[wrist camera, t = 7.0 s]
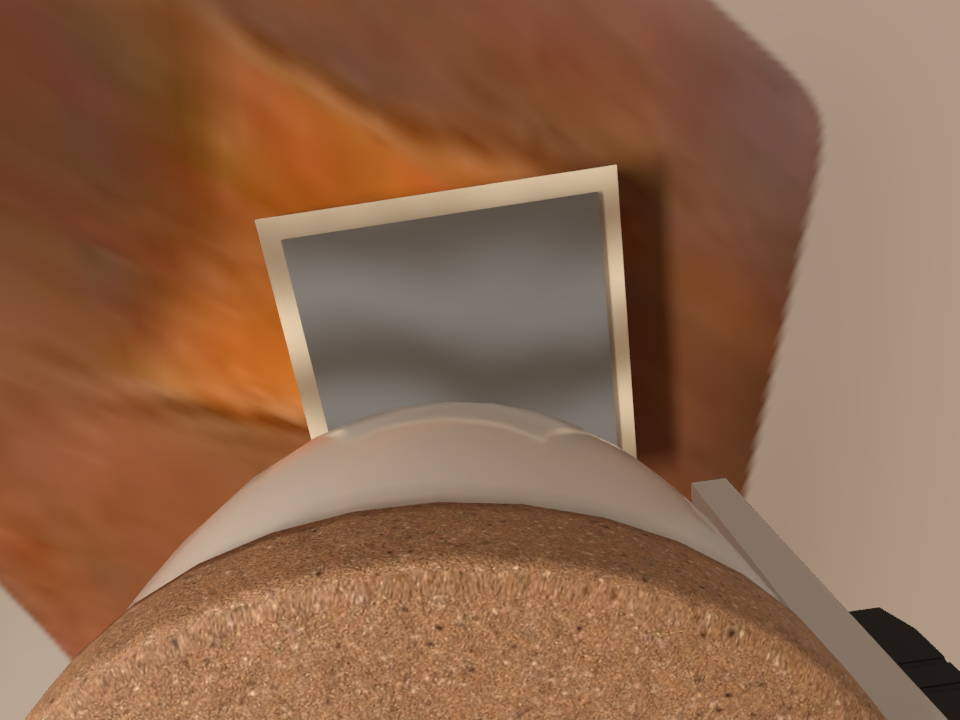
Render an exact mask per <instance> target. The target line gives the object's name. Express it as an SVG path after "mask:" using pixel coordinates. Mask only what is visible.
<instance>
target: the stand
mask: <svg viewBox="0 0 960 720" xmlns="http://www.w3.org/2000/svg"><path fill="white" fill-rule="evenodd" d="M255 223H256V227H257V231H258V235H259V239H260V243H261V247H262V250H263V254H264V258H265V262H266V266H267V270H268V274H269V277H270V281H271V285H272V289H273V293H274V297H275V301H276V305H277V308H278V312H279V316H280V320H281V324H282V328H283V332H284V335H285V339H286V343H287V347H288V351H289V355H290V359H291V362H292V366H293V370H294V374H295V378H296V382H297V386H298V389H299V393H300V397H301V401H302V405H303V409H304V413H305V416H306V420H307V424H308V428H309V432H310V436H311V440H312V439H314V438H315V437H317V436H320V435H322V434H324V433H326V432H329V431H331V430H333V429H335V428H338V427H340V426H342V425H345V424H347V423H349V422H351V421H354V420H356V419H359V418H363V417H366V416H370V415H374V414H378V413H381V412H385V411H389V410H393V409H396V408H400V407H407V406H416V405H425V404H433V403H442V402H472V403H493V404H499V405H504V406H510V407H515V408H521V409H526V410H532V411H537V412H540V413H543V414H546V415H549V416H552V417H555V418H558V419H561V420H564V421H566V422H569V423H572V424H575V425H578V426H580V427H582V428H584V429H586V430H588V431H590V432H592V433H593V434H595V435H597V436H599V437H601V438H603V439H605V440H607V441H608V442H610V443H612V444H614V445H616V446H618V447H619V448H621V449H622V450H624V451H625V452H627V453H628V454H630V455H631V456H633V457H634V458H636V459H637V455H636V440H635V425H634V411H633V396H632V381H631V367H630V352H629V337H628V322H627V308H626V293H625V278H624V264H623V249H622V234H621V220H620V205H619V190H618V175H617V165H611V166H605V167H598V168H591V169H585V170H578V171H572V172H565V173H559V174H552V175H546V176H539V177H532V178H526V179H519V180H513V181H506V182H500V183H493V184H487V185H480V186H473V187H467V188H460V189H454V190H447V191H441V192H434V193H428V194H421V195H414V196H408V197H401V198H395V199H388V200H382V201H375V202H369V203H362V204H355V205H349V206H342V207H336V208H329V209H323V210H316V211H310V212H303V213H296V214H290V215H283V216H277V217H270V218H264V219H257V220H255Z"/></svg>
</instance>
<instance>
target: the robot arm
mask: <svg viewBox="0 0 960 720" xmlns="http://www.w3.org/2000/svg"><path fill="white" fill-rule="evenodd" d="M691 489H692V504H693V505H694V506H695V507H696V508H697V509H698V510H699V511H701V512H702V513H703V514H704V515H705V516H706V517H707V518H708V519H709V520H710V521H711V522H712V523H713V525H714V526H715V527H716V528H717V529H718V530H719V531H720V532H721V533H722V534H723V536H724V537H725V538H726V539H727V540H728V541H729V542H730V543H731V544H732V546H733V547H734V548H735V549H736V550H737V551H738V552H739V553H740V554H741V556H742V557H743V558H744V559H745V560H746V561H747V563H748V564H749V565H750V566H751V567H752V569H753V570H754V571H755V572H756V573H757V574H758V576H759V577H760V578H761V579H762V580H763V581H764V583H765V584H766V585H767V586H768V587H769V588H770V590H771V591H772V592H773V593H774V594H775V596H776V597H777V598H778V599H779V601H780V602H781V603H782V604H783V605H785V606H786V607H787V608H789V609H790V610H791V611H793V612H794V613H795V614H796V615H797V616H798V617H799V618H800V619H801V620H802V621H803V622H804V623H805V624H806V625H807V626H808V627H809V628H810V630H811V631H812V632H813V633H814V634H815V635H816V636H817V637H818V638H819V640H820V641H821V642H822V643H823V644H824V645H825V646H826V647H827V648H828V650H829V651H830V652H831V653H832V654H833V655H834V656H835V657H836V658H837V659H838V661H839V662H840V663H841V664H842V665H843V666H844V667H845V668H846V669H847V671H848V672H849V673H850V674H851V675H852V677H853V678H854V679H855V680H856V681H857V683H858V684H859V685H860V686H861V687H862V689H863V690H864V691H865V692H866V693H867V695H868V696H869V697H870V698H871V700H872V701H873V702H874V704H875V705H876V706H877V707H878V709H879V710H880V711H881V713H882V714H883V715H884V716H885V718H886V719H887V720H960V671H959V670H958V669H957V668H955V667H954V666H953V665H952V664H951V663H950V662H949V663H947V662H946V660H945V658H944V656H943V655H942V654H941V653H940V652H939V651H938V650H937V649H936V648H935V647H934V646H933V645H932V644H930V642H929V641H928V640H927V639H925V638H924V637H923V636H922V635H921V634H920V633H919V632H918V631H917V630H916V629H915V628H913V627H911V626H910V625H908V624H906V623H905V622H903V621H901V620H900V619H898V618H896V617H894V616H893V615H891V614H889V613H888V612H886V611H884V610H883V609H881V608H872V609H865V610H858V611H852V612H848V611H847V610H846V608H845V607H844V606H843V605H842V604H841V603H840V602H839V601H838V600H837V599H836V598H835V597H834V596H833V594H832V593H831V592H830V591H829V590H828V589H827V588H826V587H825V586H824V585H823V584H822V582H821V581H820V580H819V579H818V578H817V577H816V576H815V575H814V574H813V573H812V572H811V571H810V569H809V568H808V567H807V566H806V565H805V564H804V563H803V562H802V561H801V560H800V559H799V557H798V556H797V555H796V554H795V553H794V552H793V551H792V550H791V549H790V548H789V547H788V546H787V544H786V543H785V542H784V541H783V540H782V539H781V538H780V537H779V536H778V535H777V534H776V533H775V532H774V530H773V529H772V528H771V527H770V526H769V525H768V524H767V523H766V522H765V521H764V520H763V518H762V517H761V516H760V515H759V514H758V513H757V512H756V511H755V510H754V509H753V508H752V506H751V505H750V504H749V503H748V502H747V501H746V500H745V499H744V498H743V497H742V496H741V495H740V493H739V492H738V491H737V490H736V489H735V488H734V487H733V486H732V485H731V484H730V483H729V481H728V480H727V479H726V478H724V479H717V480H710V481H703V482H696V483H691Z"/></svg>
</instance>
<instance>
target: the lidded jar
mask: <svg viewBox="0 0 960 720" xmlns="http://www.w3.org/2000/svg"><path fill="white" fill-rule="evenodd" d="M24 720H887V719H886V718H885V716H884V715H883V714H882V713H881V711H880V710H879V709H878V707H877V706H876V705H875V704H874V702H873V701H872V700H871V698H870V697H869V696H868V695H867V693H866V692H865V691H864V690H863V689H862V687H861V686H860V685H859V684H858V683H857V681H856V680H855V679H854V678H853V677H852V675H851V674H850V673H849V672H848V671H847V669H846V668H845V667H844V666H843V665H842V664H841V663H840V662H839V661H838V659H837V658H836V657H835V656H834V655H833V654H832V653H831V652H830V651H829V650H828V648H827V647H826V646H825V645H824V644H823V643H822V642H821V641H820V640H819V638H818V637H817V636H816V635H815V634H814V633H813V632H812V631H811V630H810V628H809V627H808V626H807V625H806V624H805V623H804V622H803V621H802V620H801V619H800V618H799V617H798V616H797V615H796V614H795V613H794V612H793V611H791V610H790V609H789V608H787V607H786V606H785V605H783V604H782V603H781V602H780V601H779V599H778V598H777V597H776V596H775V594H774V593H773V592H772V591H771V590H770V588H769V587H768V586H767V585H766V584H765V583H764V581H763V580H762V579H761V578H760V577H759V576H758V574H757V573H756V572H755V571H754V570H753V569H752V567H751V566H750V565H749V564H748V563H747V561H746V560H745V559H744V558H743V557H742V556H741V554H740V553H739V552H738V551H737V550H736V549H735V548H734V547H733V546H732V544H731V543H730V542H729V541H728V540H727V539H726V538H725V537H724V536H723V534H722V533H721V532H720V531H719V530H718V529H717V528H716V527H715V526H714V525H713V523H712V522H711V521H710V520H709V519H708V518H707V517H706V516H705V515H704V514H703V513H702V512H701V511H699V510H698V509H697V508H696V507H695V506H694V505H693V504H692V503H691V502H690V501H689V500H688V499H686V498H685V497H684V496H683V495H682V494H681V493H680V492H679V491H678V490H677V489H675V488H674V487H673V486H672V485H670V484H669V483H668V482H666V481H665V480H664V479H663V478H661V477H660V476H659V475H657V474H656V473H655V472H653V471H652V470H651V469H650V468H648V467H647V466H646V465H644V464H643V463H642V462H640V461H639V460H637V459H636V458H634V457H633V456H631V455H630V454H628V453H627V452H625V451H624V450H622V449H621V448H619V447H618V446H616V445H614V444H612V443H610V442H608V441H607V440H605V439H603V438H601V437H599V436H597V435H595V434H593V433H592V432H590V431H588V430H586V429H584V428H582V427H580V426H578V425H575V424H572V423H569V422H566V421H564V420H561V419H558V418H555V417H552V416H549V415H546V414H543V413H540V412H537V411H532V410H526V409H521V408H515V407H510V406H504V405H499V404H493V403H472V402H442V403H433V404H425V405H416V406H407V407H400V408H396V409H393V410H389V411H385V412H381V413H378V414H374V415H370V416H366V417H363V418H359V419H356V420H354V421H351V422H349V423H347V424H345V425H342V426H340V427H338V428H335V429H333V430H331V431H329V432H326V433H324V434H322V435H320V436H317V437H315V438H314V439H312V440H311V441H309V442H308V443H306V444H305V445H303V446H301V447H300V448H298V449H297V450H295V451H294V452H292V453H291V454H289V455H287V456H286V457H284V458H283V459H281V460H280V461H278V462H277V463H275V464H274V465H272V466H271V467H269V468H267V469H266V470H264V471H263V472H261V473H260V474H258V475H257V476H255V477H254V478H253V479H251V480H250V481H249V482H248V483H247V484H246V485H245V486H244V487H243V488H242V489H241V490H239V491H238V492H237V493H236V494H235V495H234V496H233V497H232V498H231V499H230V500H228V501H227V502H226V503H225V504H224V505H223V506H222V507H221V508H220V509H219V510H218V511H216V512H215V513H214V514H213V515H212V516H211V517H210V518H209V519H208V520H207V521H206V522H204V523H203V524H202V525H201V526H200V527H199V528H198V529H197V530H196V531H195V532H194V533H193V534H191V535H190V536H189V537H188V538H187V539H186V540H185V541H184V542H183V543H182V544H181V545H180V546H179V548H178V549H177V550H176V551H175V552H174V553H173V554H172V556H171V557H170V558H169V559H168V560H167V561H166V563H165V564H164V565H163V566H162V567H161V568H160V569H159V571H158V572H157V573H156V574H155V575H154V576H153V578H152V579H151V580H150V581H149V582H148V583H147V585H146V586H145V587H144V588H143V590H142V591H141V592H140V594H139V595H138V596H137V598H136V599H135V600H134V601H133V603H132V604H131V605H130V607H129V608H128V609H127V610H126V611H125V612H124V613H123V614H122V615H121V616H120V617H119V618H118V619H117V620H115V621H114V622H113V623H112V624H111V625H110V626H109V627H108V628H107V629H106V630H104V631H103V632H102V633H101V634H100V635H99V636H98V637H97V638H96V639H94V640H93V641H92V642H91V643H90V644H89V645H88V646H87V647H86V648H85V649H83V650H82V651H81V652H80V653H79V654H78V656H77V657H76V658H75V659H74V660H73V661H72V662H71V663H70V664H69V665H68V666H67V667H66V669H65V670H64V671H63V672H62V673H61V674H60V676H59V677H58V678H57V679H56V680H55V682H54V683H53V684H52V685H51V686H50V687H49V689H48V690H47V691H46V693H45V694H44V695H43V696H42V698H41V699H40V700H39V701H38V703H37V704H36V705H35V706H34V708H33V709H32V710H31V712H30V713H29V714H28V715H27V717H26V718H25V719H24Z"/></svg>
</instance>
